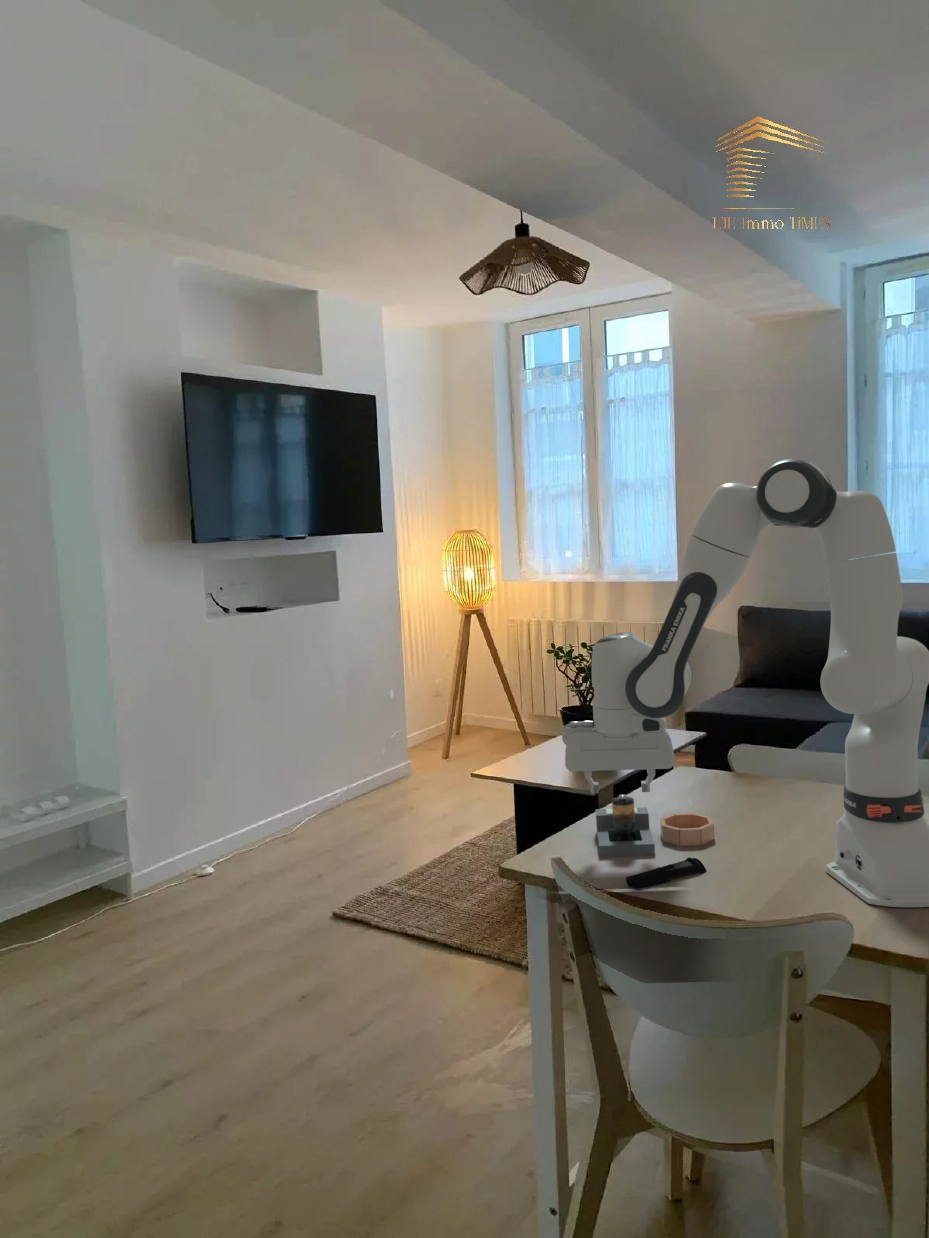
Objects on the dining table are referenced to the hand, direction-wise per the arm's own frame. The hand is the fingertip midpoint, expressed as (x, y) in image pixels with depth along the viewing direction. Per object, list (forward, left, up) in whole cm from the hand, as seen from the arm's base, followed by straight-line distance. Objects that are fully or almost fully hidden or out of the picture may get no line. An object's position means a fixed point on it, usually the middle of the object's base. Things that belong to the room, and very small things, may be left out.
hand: (620, 791), depth 176 cm
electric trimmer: (-17, -6, -12) cm, 21 cm away
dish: (+4, -12, -11) cm, 17 cm away
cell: (0, 0, -10) cm, 10 cm away
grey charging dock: (+2, 0, -11) cm, 11 cm away
